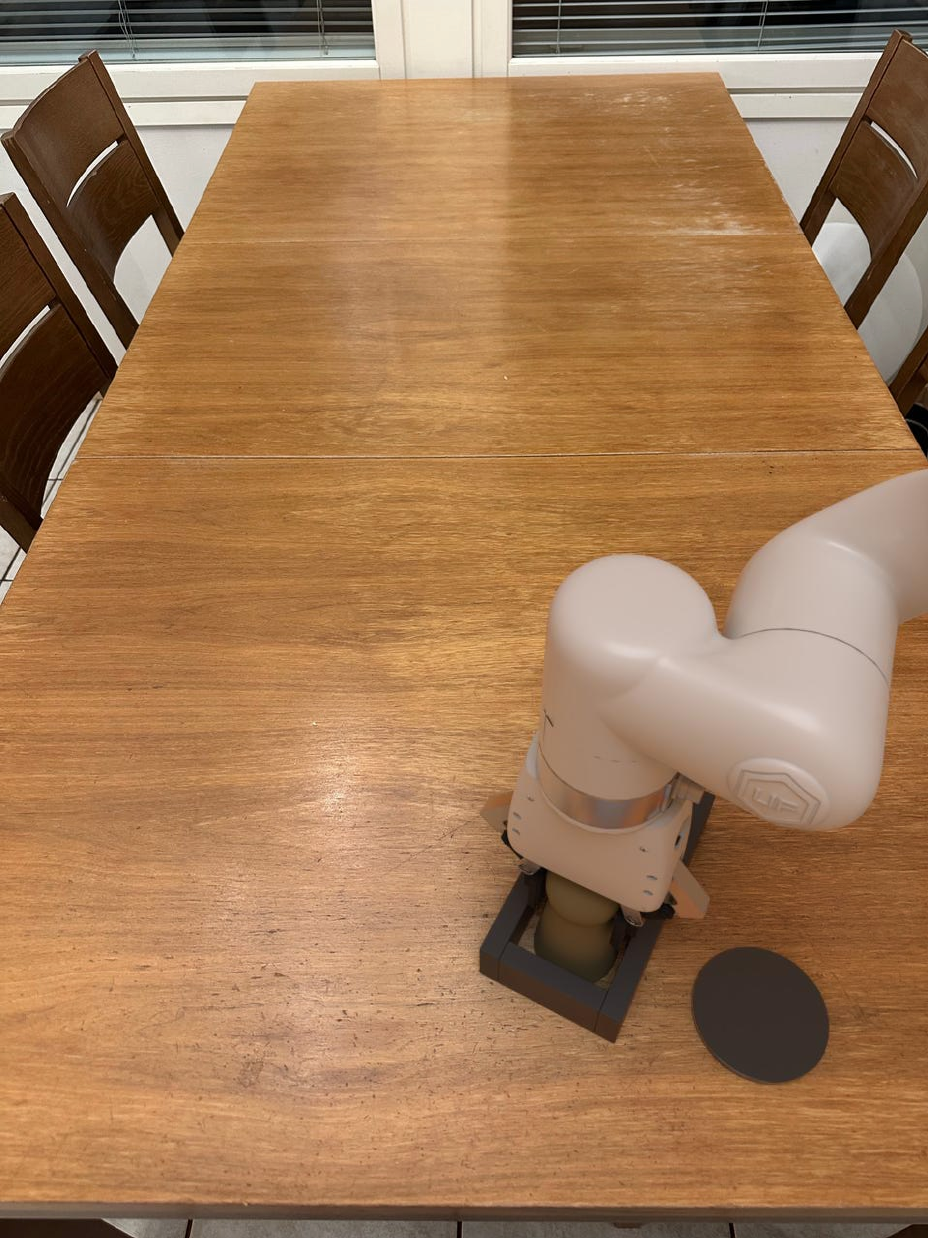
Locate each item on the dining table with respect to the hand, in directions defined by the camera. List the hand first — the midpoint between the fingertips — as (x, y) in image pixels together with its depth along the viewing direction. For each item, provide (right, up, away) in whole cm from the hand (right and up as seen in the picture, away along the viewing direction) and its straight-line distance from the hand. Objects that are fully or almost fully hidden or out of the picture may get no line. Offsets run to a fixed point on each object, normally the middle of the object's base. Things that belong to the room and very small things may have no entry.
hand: (581, 907), depth 63 cm
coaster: (+12, -7, +1) cm, 14 cm away
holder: (+2, -1, +7) cm, 7 cm away
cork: (0, -4, +5) cm, 6 cm away
